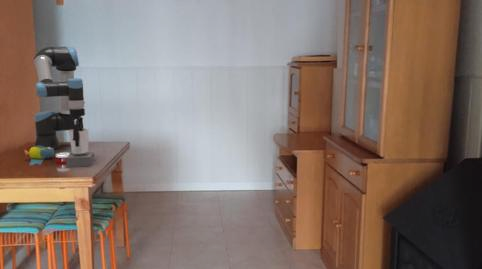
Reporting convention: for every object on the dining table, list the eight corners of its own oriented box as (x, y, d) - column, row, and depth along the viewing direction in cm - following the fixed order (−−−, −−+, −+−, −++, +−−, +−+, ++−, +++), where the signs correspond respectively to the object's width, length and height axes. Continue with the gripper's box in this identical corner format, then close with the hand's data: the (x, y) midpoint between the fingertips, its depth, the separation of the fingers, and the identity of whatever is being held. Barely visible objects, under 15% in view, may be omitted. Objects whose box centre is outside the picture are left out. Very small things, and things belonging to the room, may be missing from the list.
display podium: (71, 162, 244) (71, 153, 243) (94, 161, 245) (93, 152, 245) (66, 167, 232) (65, 157, 231) (90, 166, 234) (90, 156, 233)
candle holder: (78, 154, 231) (76, 131, 229) (66, 153, 236) (64, 130, 234) (93, 151, 239) (92, 129, 237) (81, 149, 244) (80, 127, 242)
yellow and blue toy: (26, 141, 261) (55, 140, 266) (27, 156, 263) (55, 155, 268) (21, 150, 235) (52, 149, 240) (22, 166, 237) (53, 165, 242)
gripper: (80, 110, 224) (83, 154, 228) (88, 106, 245) (90, 146, 249) (64, 110, 223) (68, 155, 226) (73, 106, 244) (76, 147, 248)
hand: (80, 150), depth 238 cm, fingers closed on candle holder, 9 cm apart
